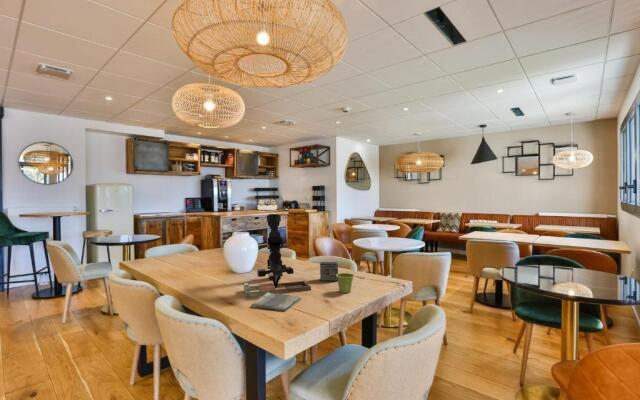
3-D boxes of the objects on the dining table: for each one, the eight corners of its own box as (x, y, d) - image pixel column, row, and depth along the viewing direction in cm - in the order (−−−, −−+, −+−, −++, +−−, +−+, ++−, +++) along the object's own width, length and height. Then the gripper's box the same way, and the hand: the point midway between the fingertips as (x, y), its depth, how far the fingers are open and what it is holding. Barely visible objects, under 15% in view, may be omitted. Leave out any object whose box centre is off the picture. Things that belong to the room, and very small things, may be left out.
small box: (338, 279, 192) (338, 261, 192) (338, 281, 185) (337, 264, 185) (321, 278, 193) (320, 261, 193) (320, 281, 186) (319, 263, 186)
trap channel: (243, 290, 170) (243, 283, 170) (304, 284, 181) (304, 277, 181) (246, 297, 159) (246, 289, 159) (311, 290, 170) (310, 282, 170)
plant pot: (356, 290, 169) (356, 273, 168) (350, 295, 160) (350, 278, 160) (340, 288, 172) (340, 272, 172) (333, 293, 164) (333, 276, 164)
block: (259, 291, 169) (259, 284, 169) (272, 290, 171) (272, 282, 171) (261, 295, 162) (261, 287, 162) (275, 294, 165) (274, 286, 165)
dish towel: (285, 313, 138) (285, 306, 138) (250, 308, 144) (249, 301, 144) (302, 300, 155) (302, 293, 155) (270, 296, 162) (270, 290, 162)
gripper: (259, 262, 159) (260, 293, 159) (295, 259, 165) (296, 289, 165) (256, 258, 169) (257, 288, 169) (290, 256, 175) (291, 284, 175)
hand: (275, 287), depth 170 cm, fingers closed
